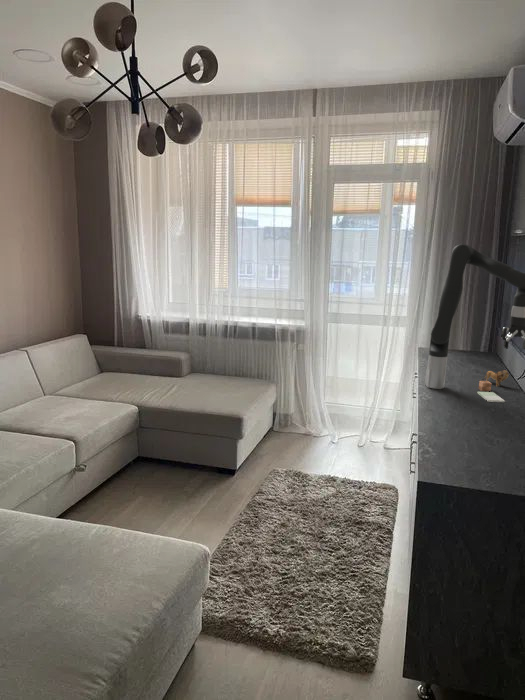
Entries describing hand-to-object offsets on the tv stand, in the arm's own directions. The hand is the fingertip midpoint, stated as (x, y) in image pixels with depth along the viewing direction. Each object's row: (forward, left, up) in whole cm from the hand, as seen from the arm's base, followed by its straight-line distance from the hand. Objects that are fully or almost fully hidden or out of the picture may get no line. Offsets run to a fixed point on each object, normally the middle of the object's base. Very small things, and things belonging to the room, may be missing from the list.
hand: (515, 348), depth 243 cm
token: (-5, +17, -26) cm, 32 cm away
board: (-7, +4, -26) cm, 27 cm away
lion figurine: (+5, +29, -26) cm, 40 cm away
